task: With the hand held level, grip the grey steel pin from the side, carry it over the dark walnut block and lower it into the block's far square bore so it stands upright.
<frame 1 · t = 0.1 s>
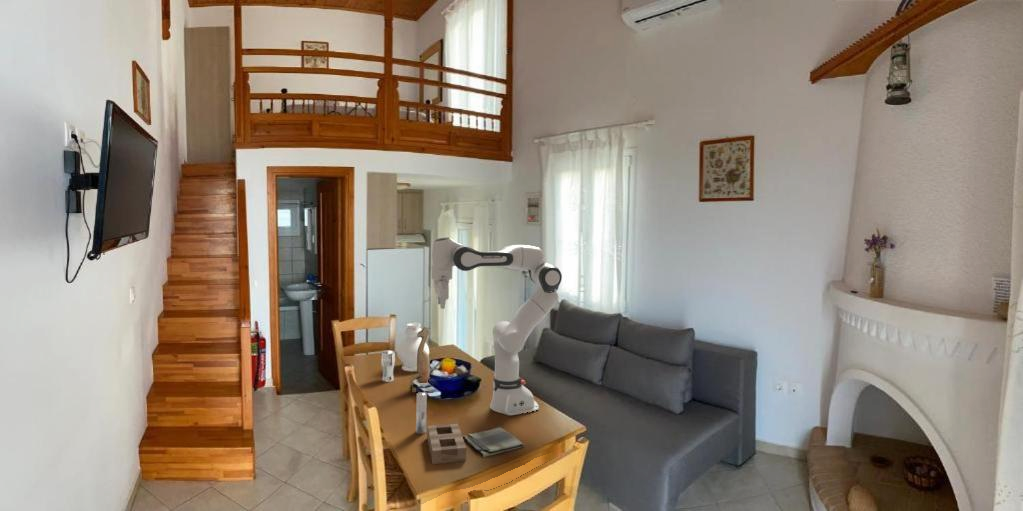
hand: (441, 306, 213), 48 cm above the table, tool pointing down, fingers open, 8 cm apart
bird sculpture: (423, 388, 245), on the table
dish towel: (492, 444, 191), on the table
bore block: (445, 449, 184), on the table
beer glass: (388, 380, 255), on the table
pin: (420, 431, 198), on the table
decorative vase: (413, 368, 276), on the table
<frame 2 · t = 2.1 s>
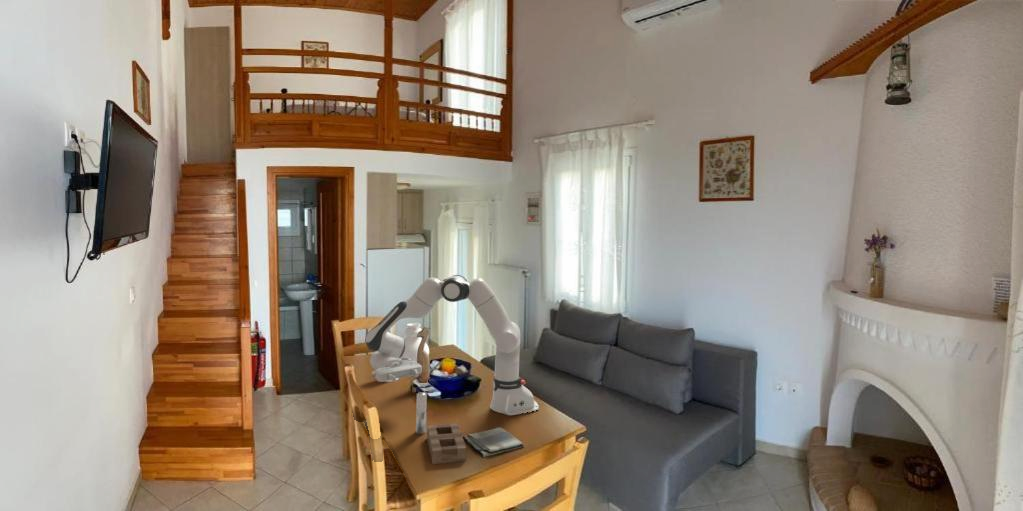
hand: (407, 377, 205), 19 cm above the table, tool horizontal, fingers open, 8 cm apart
nothing on the table moved.
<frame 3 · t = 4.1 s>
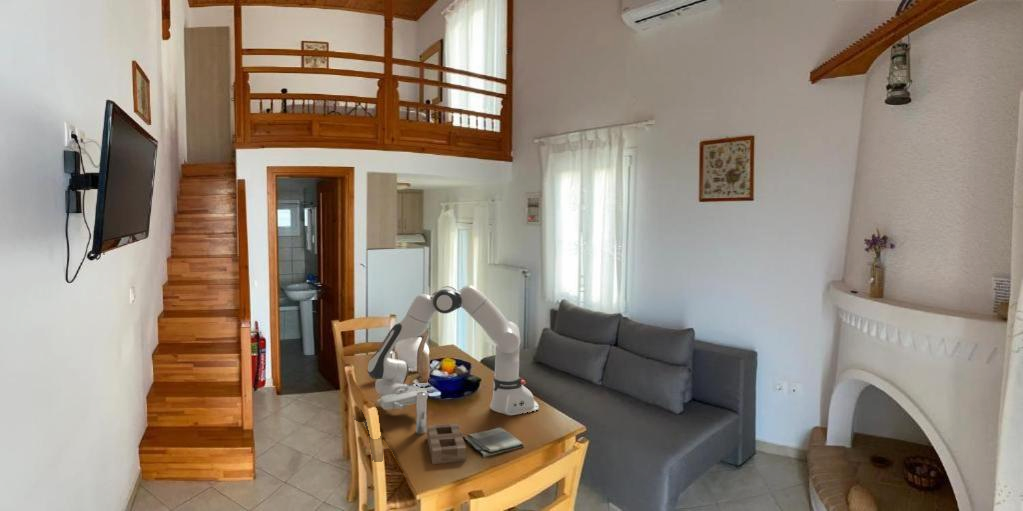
hand: (412, 404, 202), 9 cm above the table, tool horizontal, fingers open, 8 cm apart
nothing on the table moved.
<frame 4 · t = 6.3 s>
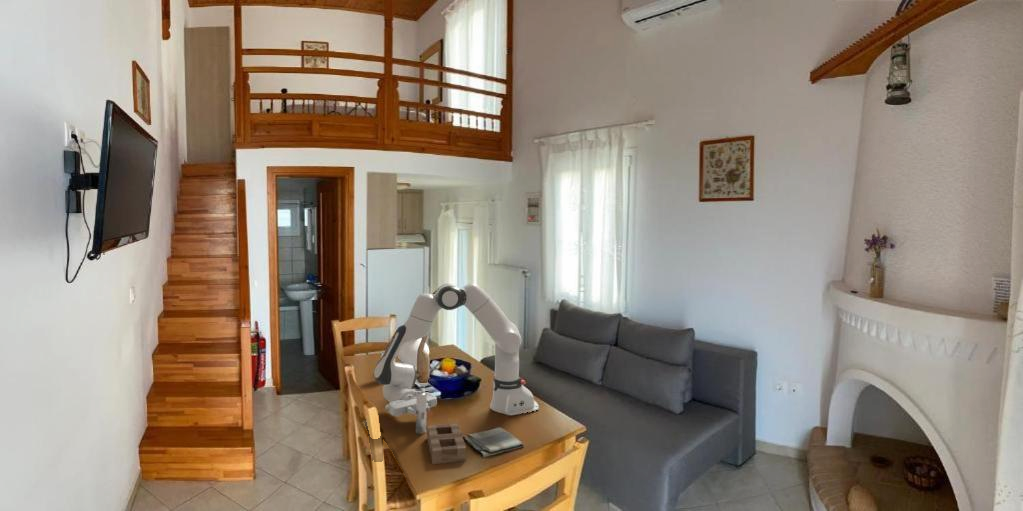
hand: (422, 411, 196), 9 cm above the table, tool horizontal, fingers closed on pin, 4 cm apart
pin: (420, 431, 198), on the table, touching gripper
everything else where it was.
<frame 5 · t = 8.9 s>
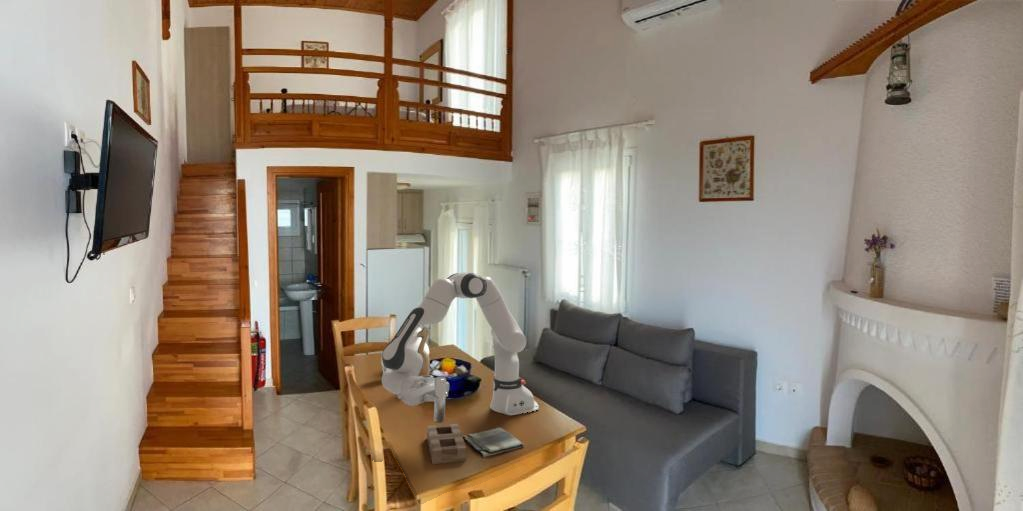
hand: (441, 397, 180), 21 cm above the table, tool horizontal, fingers closed on pin, 4 cm apart
pin: (439, 420, 182), point 12 cm above the table, touching gripper
everything else where it was.
when the fingers open (11 cm above the table, at t = 11.9 s): pin drops 1 cm, resting on bore block.
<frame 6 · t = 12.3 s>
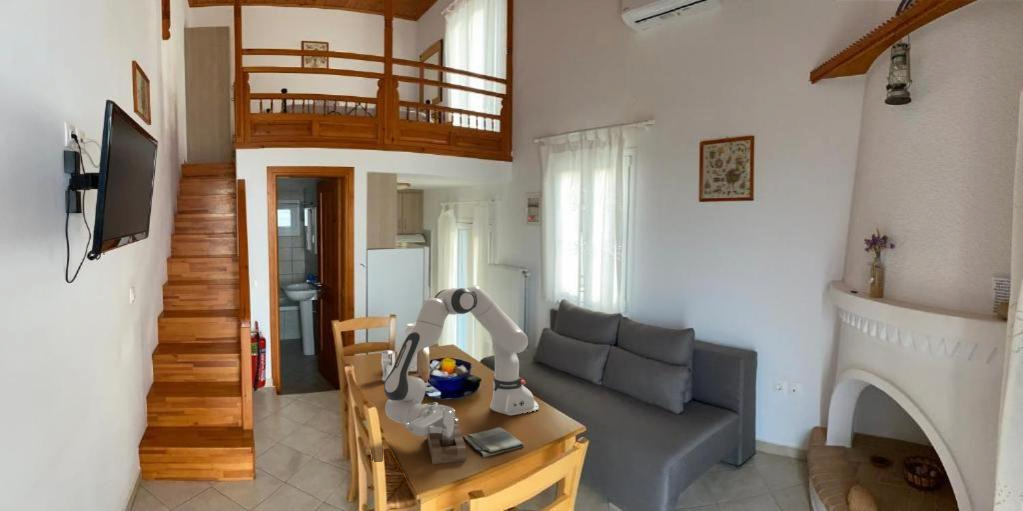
hand: (450, 426, 178), 11 cm above the table, tool horizontal, fingers open, 8 cm apart
pin: (447, 452, 179), point 1 cm above the table, touching bore block
everything else where it was.
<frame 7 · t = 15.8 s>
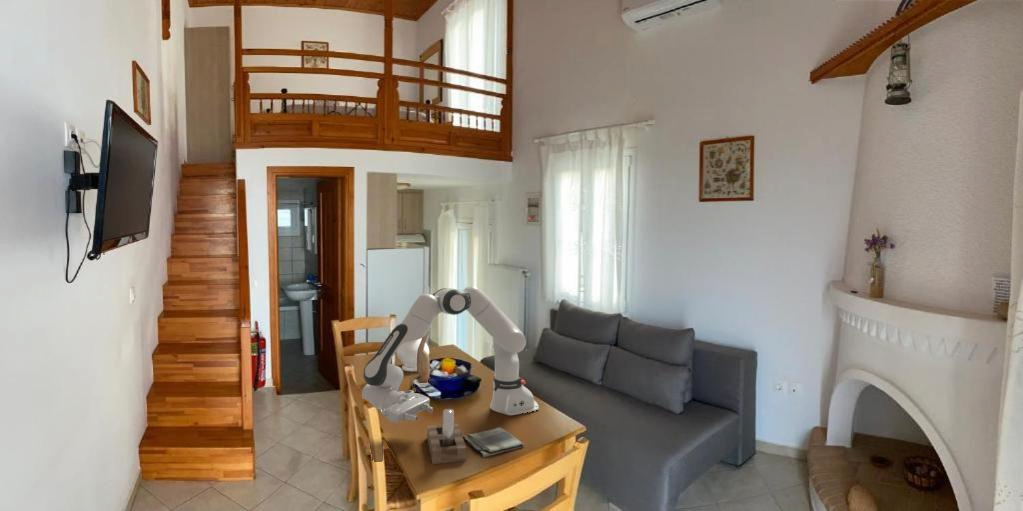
hand: (424, 414, 186), 12 cm above the table, tool horizontal, fingers open, 8 cm apart
nothing on the table moved.
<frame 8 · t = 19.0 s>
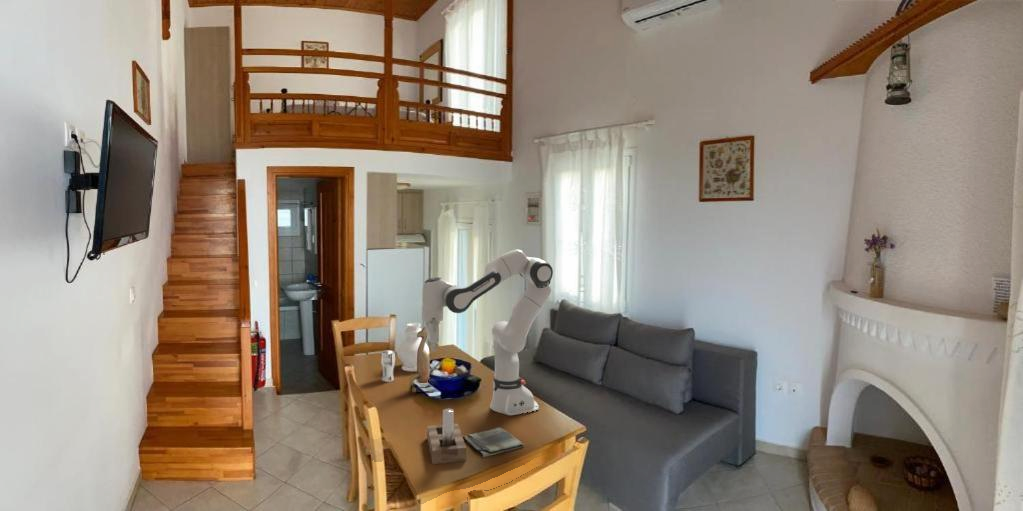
hand: (431, 347, 208), 31 cm above the table, tool pointing down, fingers open, 8 cm apart
nothing on the table moved.
at the end: pin 0.1 cm from the target spot on the bore block, point 1.0 cm above the bore block's base; pin tilted 1°; the gripper is holding nothing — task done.
